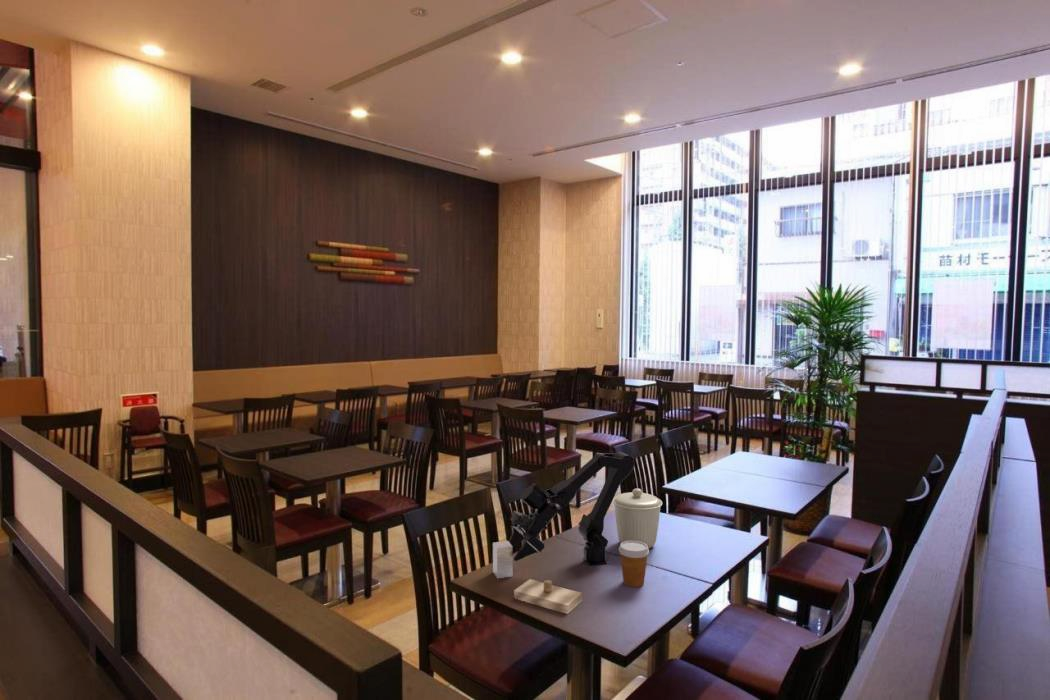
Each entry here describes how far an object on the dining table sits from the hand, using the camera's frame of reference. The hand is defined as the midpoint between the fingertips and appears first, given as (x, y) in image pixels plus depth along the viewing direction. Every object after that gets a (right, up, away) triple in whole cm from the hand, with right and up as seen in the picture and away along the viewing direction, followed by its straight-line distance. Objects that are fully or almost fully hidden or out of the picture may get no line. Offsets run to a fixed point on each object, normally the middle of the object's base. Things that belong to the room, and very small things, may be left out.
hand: (510, 554), depth 196 cm
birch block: (+12, -7, -18) cm, 23 cm away
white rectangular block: (-2, -6, -1) cm, 7 cm away
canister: (+46, -5, +24) cm, 52 cm away
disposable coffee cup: (+39, -7, -7) cm, 40 cm away
